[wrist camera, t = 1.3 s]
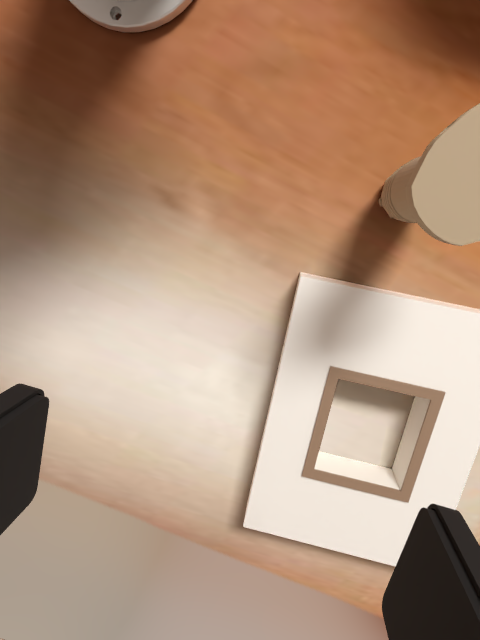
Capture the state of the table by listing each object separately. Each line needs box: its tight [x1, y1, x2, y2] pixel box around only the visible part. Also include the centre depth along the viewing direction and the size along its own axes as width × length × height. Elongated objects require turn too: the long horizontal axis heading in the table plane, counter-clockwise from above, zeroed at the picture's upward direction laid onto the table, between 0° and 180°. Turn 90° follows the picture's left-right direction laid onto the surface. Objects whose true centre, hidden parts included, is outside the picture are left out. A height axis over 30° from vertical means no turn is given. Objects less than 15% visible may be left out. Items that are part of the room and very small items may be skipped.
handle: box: [379, 104, 480, 246], centre depth 24 cm, size 5×6×15 cm
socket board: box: [243, 272, 480, 567], centre depth 34 cm, size 22×16×3 cm
